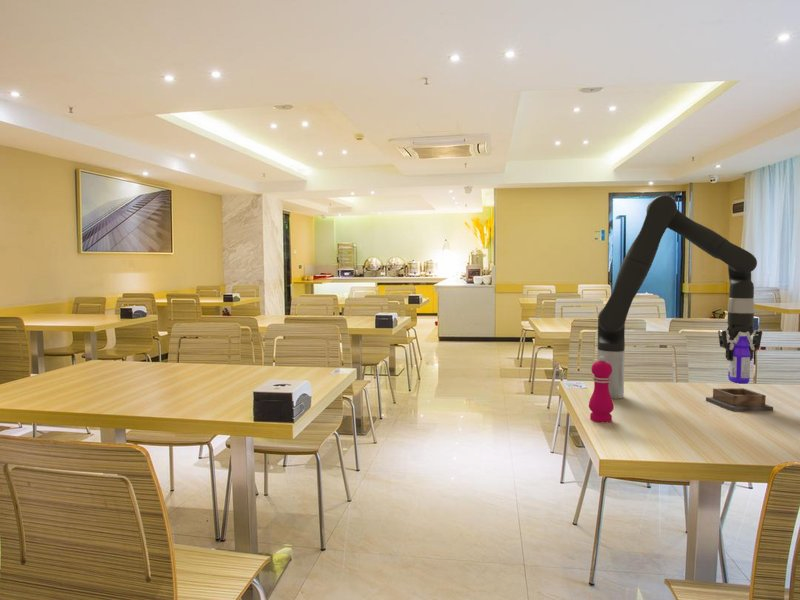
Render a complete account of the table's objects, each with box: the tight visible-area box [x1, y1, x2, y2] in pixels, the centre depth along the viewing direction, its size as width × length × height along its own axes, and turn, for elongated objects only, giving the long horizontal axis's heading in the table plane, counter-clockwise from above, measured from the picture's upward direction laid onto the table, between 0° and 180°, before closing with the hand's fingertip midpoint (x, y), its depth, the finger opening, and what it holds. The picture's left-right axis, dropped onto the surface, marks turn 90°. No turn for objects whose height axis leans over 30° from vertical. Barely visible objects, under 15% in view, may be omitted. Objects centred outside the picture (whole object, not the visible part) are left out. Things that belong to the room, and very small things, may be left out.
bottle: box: [727, 332, 751, 385], centre depth 180 cm, size 7×6×17 cm
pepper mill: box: [588, 356, 615, 424], centre depth 163 cm, size 7×7×20 cm
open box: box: [705, 387, 774, 412], centre depth 181 cm, size 14×14×5 cm
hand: (739, 360), depth 180 cm, fingers closed on bottle, 6 cm apart
